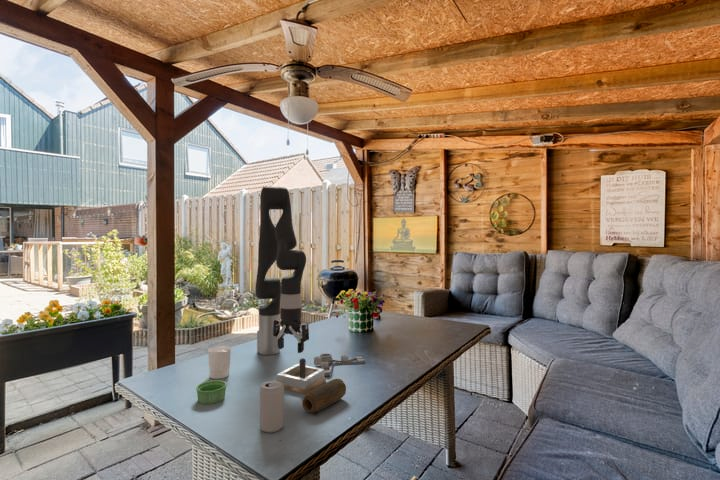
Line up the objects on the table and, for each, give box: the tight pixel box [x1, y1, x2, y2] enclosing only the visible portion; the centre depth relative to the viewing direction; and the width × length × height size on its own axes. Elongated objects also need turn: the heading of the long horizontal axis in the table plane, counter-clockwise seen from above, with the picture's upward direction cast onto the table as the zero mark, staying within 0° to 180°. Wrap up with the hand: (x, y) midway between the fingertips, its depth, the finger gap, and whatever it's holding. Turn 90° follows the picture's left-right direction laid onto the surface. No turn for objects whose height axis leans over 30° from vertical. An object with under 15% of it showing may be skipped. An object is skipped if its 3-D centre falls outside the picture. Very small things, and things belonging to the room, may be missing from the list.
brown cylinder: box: [301, 378, 347, 414], centre depth 114 cm, size 15×7×7 cm, turn 147°
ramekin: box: [195, 379, 227, 405], centre depth 118 cm, size 9×9×4 cm
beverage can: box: [259, 380, 285, 434], centre depth 100 cm, size 6×6×12 cm
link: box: [276, 363, 325, 390], centre depth 130 cm, size 12×12×3 cm
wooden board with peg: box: [282, 357, 327, 395], centre depth 130 cm, size 12×12×9 cm
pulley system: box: [313, 353, 365, 377], centre depth 149 cm, size 27×5×15 cm
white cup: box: [207, 345, 232, 380], centre depth 137 cm, size 8×8×10 cm
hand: (290, 350), depth 132 cm, fingers open, 8 cm apart
